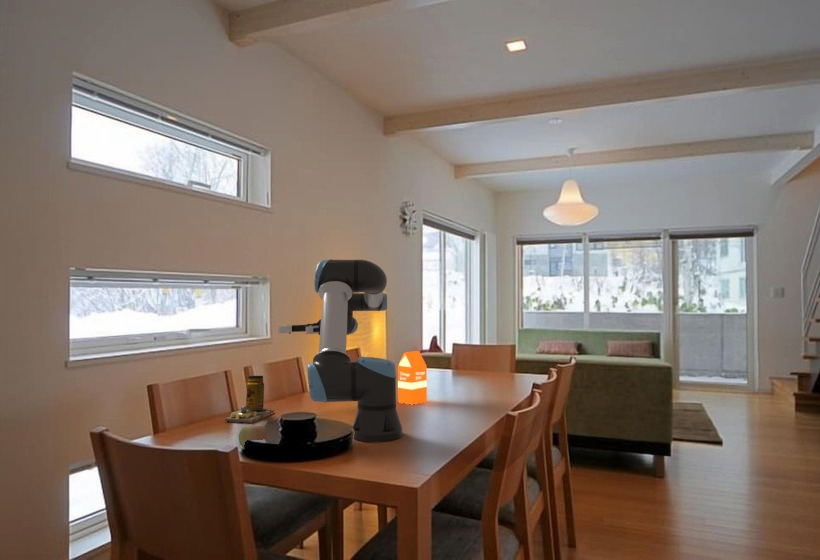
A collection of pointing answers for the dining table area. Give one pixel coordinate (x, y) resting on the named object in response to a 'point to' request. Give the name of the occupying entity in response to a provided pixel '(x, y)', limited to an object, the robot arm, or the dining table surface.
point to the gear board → (259, 416)
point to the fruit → (252, 433)
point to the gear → (244, 413)
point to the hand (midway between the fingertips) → (292, 330)
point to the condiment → (255, 393)
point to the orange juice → (412, 379)
